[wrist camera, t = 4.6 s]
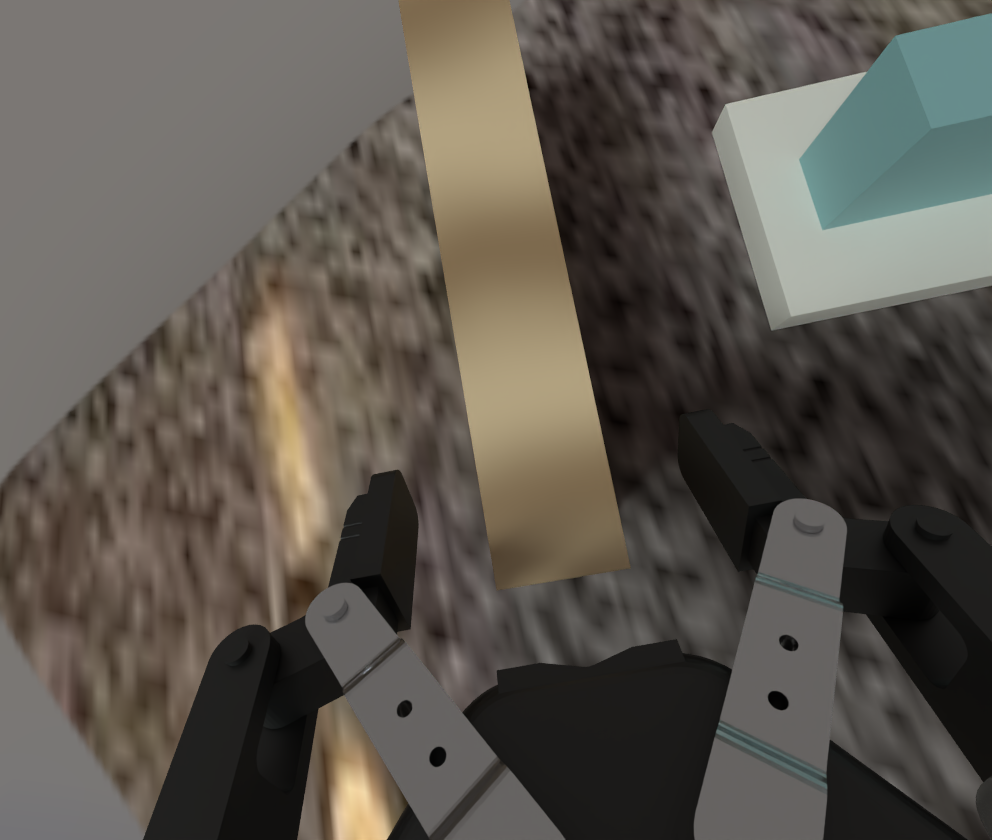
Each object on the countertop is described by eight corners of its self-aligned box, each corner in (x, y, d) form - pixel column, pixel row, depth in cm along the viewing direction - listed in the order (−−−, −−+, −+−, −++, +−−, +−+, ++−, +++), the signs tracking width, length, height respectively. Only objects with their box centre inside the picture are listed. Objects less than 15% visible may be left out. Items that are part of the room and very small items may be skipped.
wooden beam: (450, 184, 21) (398, 0, 13) (516, 169, 21) (503, -25, 13) (514, 550, 19) (496, 590, 11) (590, 537, 18) (631, 568, 11)
